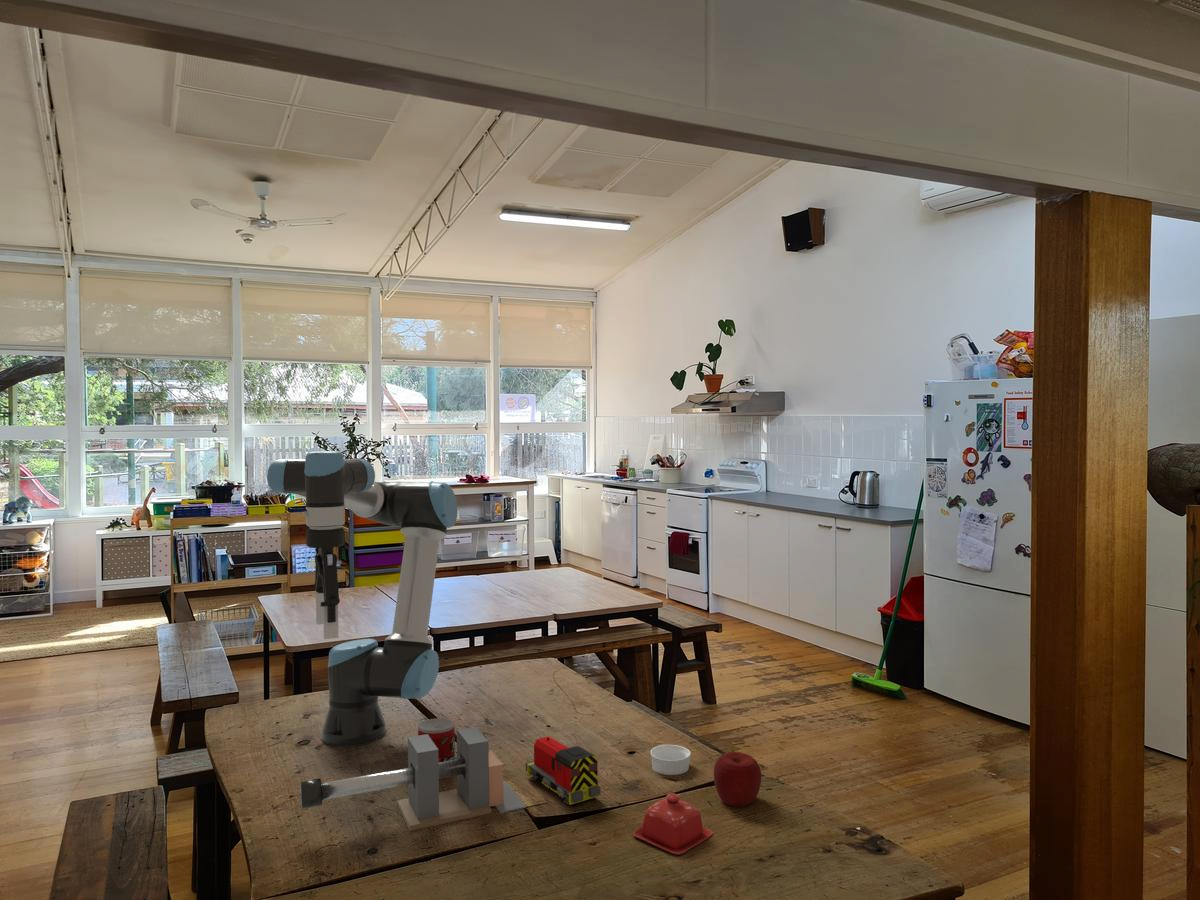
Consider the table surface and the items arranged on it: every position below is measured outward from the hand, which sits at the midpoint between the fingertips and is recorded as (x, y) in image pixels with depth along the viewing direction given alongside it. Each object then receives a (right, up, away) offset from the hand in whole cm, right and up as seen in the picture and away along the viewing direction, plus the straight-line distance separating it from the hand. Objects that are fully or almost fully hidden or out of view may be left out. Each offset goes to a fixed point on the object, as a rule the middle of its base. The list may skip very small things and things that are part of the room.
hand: (326, 630), depth 170 cm
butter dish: (+69, -35, -17) cm, 79 cm away
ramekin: (+71, -34, +14) cm, 80 cm away
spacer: (+33, -34, 0) cm, 48 cm away
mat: (+38, -34, +2) cm, 51 cm away
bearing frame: (+25, -35, -4) cm, 43 cm away
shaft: (+15, -29, -9) cm, 34 cm away
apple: (+83, -34, -3) cm, 90 cm away
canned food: (+20, -35, +13) cm, 42 cm away
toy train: (+48, -35, +4) cm, 59 cm away
